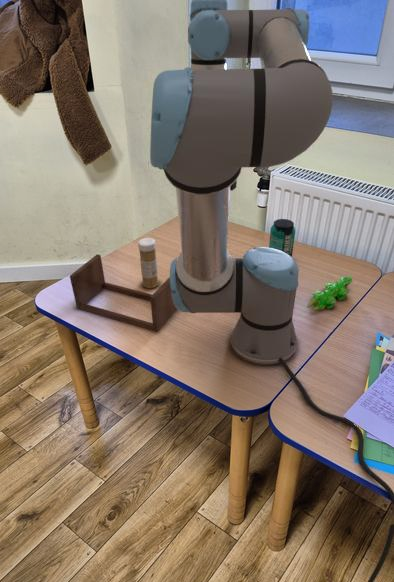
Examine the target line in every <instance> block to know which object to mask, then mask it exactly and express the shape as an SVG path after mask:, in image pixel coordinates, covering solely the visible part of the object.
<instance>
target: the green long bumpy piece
mask: <svg viewBox="0 0 394 582" xmlns="http://www.w3.org/2000/svg"><path fill="white" fill-rule="evenodd" d="M352 282H353V278H352V277H351V276H348V275H343V276H340V277H339V279H338V280H335V282H334V283H333V282H327V283H325V284H324V286H325V288H323V290H322V291H320V290H315V291H313V292H312V295H313V296H312V297H313V299H312V300H311V301H310V302H309V303H308V304H307V306H306V307H307V308H311V307H312V308H313V309H312V311H318V310H323V309H325V308H326V309H332V308H334V304H336V303H337V299H338V301H342V300H345V299H346V296H347V295H348V294H349V291H348V289H347V288H348V287H349V285H351V283H352ZM336 298H337V299H336ZM314 305H315V307H313V306H314Z"/></svg>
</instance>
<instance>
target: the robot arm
mask: <svg viewBox="0 0 394 582" xmlns="http://www.w3.org/2000/svg"><path fill="white" fill-rule="evenodd" d="M189 18H190V19H189V20H190V22H189V25H188V28H187V41H188V44H189V48H190V58H191V59H190V67H189V66H187V67H184V68H183V69H172V70H171V69H170V70H163V71H161V72H159V73H158V75H157V76H156V77H155V79H154V82H153V89H152V100H151V117H150V141H149V143H150V146H149V147H150V149H149V158H150V159H149V162H150V165H151V166H152V167H153V168H158V169H159V170H163V172H164V175H165V176H164V177H165V178H166V179H167V181H168V182H169V183H170V184H171V185H172V187H175V194H176V204H177V205H176V206H177V215H178V225H179V226H178V227H179V236H180V246H181V247H180V248H181V252H180V254H179V255H178V257H176V258H174V259H173V260H172V261H171V263H170V268H169V277H170V287H171V292H172V293H171V295H172V300H173V303H174V305H175V307H176V309H177V310H176V311H179V312H181V313H190V314H202V313H203V314H206V313H207V314H217V313H218V314H222V313H224V314H228V313H231V314H232V313H235V314H238V313H239V314H240V315H239V318H238V319H237V322H236V324H235V326H234V328H233V330H232V333H231V338H230V339H231V342H230V343H231V345H230V346H231V348H232V350H233V352H234V353H235V354H236V356H237V357H239V358H240V359H242V360H244V361H245V362H248V363H251V364H253V365H260V366H275V365H279V364H280V365H281V366H282V367H283V368H284V370H285V371H286V372H287V374H288V375H289V377H290V378H291V379H292V380H293V382H294V383H295V384H296V386H297V387H298V389H299V390H300V392H301V393H302V395H303V398H304V400H305V401H306V402H307V404H308V405H309V406H310V407H311V408H312V409H313V410H314V411H315V412H317V413H318V414H320V415H321V416H323V417H325V418H329V419H331V420H334V421H338V422H341V423H344V424H346V425H348V426H349V427H351V428H352V429H353V430H354V431H355V433H356V434H357V436H358V437H357V438H358V447H357V458H358V461H359V464H360V467H361V468H362V469H363V470H364V471H365V473H366V474H367V475H368V476H370V477H371V478H372V479H373V480H374V481H376V482H377V483H378V484H379V485H380V486H381V487H382V488H383V489H384V490H385V492H387V494H388V496H389V497H390V499H391V503H392V505H394V491H393V489H392V488H391V487H390V485H389V484H387V482H385V480H383V479H382V478H381V477H380V476H378V475H377V474H376V473H375V472H374V471H372V469H371V468H370V467H369V466H368V464H367V463H366V461H365V459H364V443H365V441H364V440H365V439H364V438H365V437H364V434H363V431H362V430H361V428H360V427H359V426H358V425H357V424H355V423H354V422H353V421H351V420H350V419H347V418H345V417H342V416H338V415H336V414H332V413H329V412H327V411H325V410H323V409H321V408H320V407H319V406H317V404H315V403H314V401H313V400H312V399H311V397H310V396H309V394H308V392H307V390H306V389H305V387H304V386H303V384H302V383H301V382H300V380H299V379H298V377H297V376H296V375H295V374H294V372H293V371H292V369H291V368H290V367H289V365H288V364H287V363H286V361H288V360H289V359H291V358H292V357H293V356H294V354H295V353H296V350H297V344H298V339H297V334H296V330H295V326H294V322H293V316H294V309H295V304H296V303H295V302H296V298H297V297H296V296H297V290H298V287H299V266H298V263H297V261H296V260H295V259H294V258H293V256H292V257H291V256H289V255H288V254H286V253H285V252H282V251H280V250H277V249H274V248H269V246H265V247H264V246H257V247H253V248H250V249H248V250H247V251H245V253H244V254H243V256H242V257H241V258H240V257H239V258H237V257H236V258H235V257H232V255H231V254H230V252H229V251H228V237H229V220H230V219H229V217H230V203H231V202H230V199H231V192H232V191H234V190H236V189H237V182H238V178H239V177H240V175H241V173H242V169H243V168H271V167H275V166H279V165H282V164H285V163H288V162H290V161H292V160H294V159H296V158H297V157H298V156H300V155H302V154H303V153H304V152H306V151H307V150H309V148H310V147H311V146H313V144H314V143H315V142H316V141H317V140H318V139H319V138H320V136H321V134H322V133H323V132H324V130H325V128H326V126H327V124H328V122H329V120H330V117H331V115H332V109H333V105H334V104H333V102H334V99H333V98H334V97H333V96H334V94H333V88H332V85H331V82H330V80H329V78H328V75H327V73H326V71H325V70H324V69H323V68H322V67H321V66H320V65H319V64H318V63H317V62H316V61H314V60H312V59H311V57H310V54H309V52H308V50H307V47H308V43H309V36H310V15H309V12H308V10H306V9H299V8H298V9H296V8H292V7H287V8H277V9H275V8H274V9H229V3H228V0H191V1H190V13H189ZM227 59H259V61H260V67H261V68H227ZM354 424H355V425H356V426H355V425H354ZM357 426H358V427H357ZM393 540H394V523H393V524H391V525H389V529H388V534H387V538H386V541H385V544H384V547H383V550H382V553H381V555H380V558H379V560H378V562H377V564H376V565H375V567H374V570H373V572H372V573H371V575H370V577H369V579H368V581H367V582H375V580H376V578H377V577H378V575H379V573H380V571H381V569H382V567H383V565H384V563H385V562H386V560H387V557H388V555H389V552H390V549H391V547H392V544H393Z"/></svg>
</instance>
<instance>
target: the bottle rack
mask: <svg viewBox="0 0 394 582" xmlns="http://www.w3.org/2000/svg"><path fill="white" fill-rule="evenodd" d="M69 279H70V284H71V288H72V292H73V297H74V302H75V306H76V309H78V310H81V311H83V312H84V311H85V312H88V313H90V314H91V313H92V314H94V315H98V316H102V317H105V318H108V319H112V320H115V321H119V322H122V323H126V324H130V325H133V326H136V327H140V328H142V329H146V330H149V331H153V332H157V333H158V332H159V331H160V330H161V329H162V328H163V326H164V325H165V324H166V322H167V321H168V320H169V319H170V318H171V317H172V315H173V314H174V313H175V312H177V311H178V310H177V309H176V307H175V305H174V303H173V300H172V295H171V293H172V292H171V287H170V276H169V277H168V278H167V279H166V280H165V281H164V282H163V283H162V284H161V285H160V286H159V288H157V289H156V290H155V291H154V292H153V293H148V292H144V291H140V290H136V289H133V288H128V287H125V286H122V285H117V284H114V283H111V282H110V283H109V282H107V281H106V279H105V273H104V266H103V262H102V256H101V254H97V253H96V255H94V256H93V257H92V258H90V259H89V260H88V261H86V262H85V263H84V264H83V265H81V266H80V267H79V268H78V269H76V270H75V271H74V272H72V273H71V274H70V275H69ZM104 289H105V290H107V291H112V292H115V293H119V294H124V295H127V296H131V297H134V298H138V299H142V300H145V301H148V302H149V301H150V309H151V310H150V311H151V320H152V322H150V321H146V320H144V319H139V318H136V317H132V316H128V315H126V314H122V313H119V312H116V311H112V310H108V309H104V308H101V307H97V306H94V305H90V304H88V303H89V302H90V301H92V300H93V299H94V298H95V297H96V296H97V295H98V294H99V293H101V292H102V291H103V290H104Z"/></svg>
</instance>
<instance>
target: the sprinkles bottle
mask: <svg viewBox="0 0 394 582" xmlns="http://www.w3.org/2000/svg"><path fill="white" fill-rule="evenodd" d="M137 246H138V250H139V260H140V262H139V263H140V270H141V278H142V286H143V287H144V288H146V289H154V288H156V287H157V286H159V278H158V277H159V276H158V275H159V274H158V261H157V252H156V249H157V245H156V240H155V239H154V238H151V237H144V238H141V239H139V240H138V241H137Z"/></svg>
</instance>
